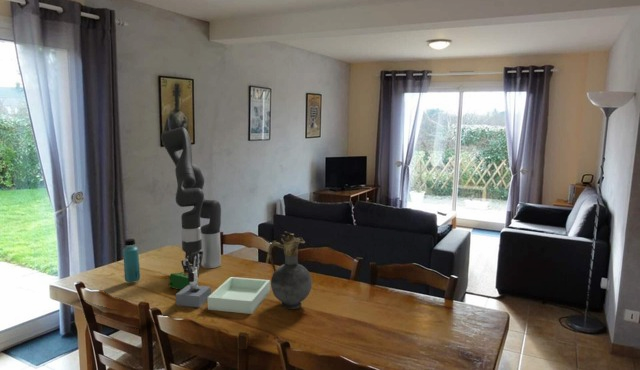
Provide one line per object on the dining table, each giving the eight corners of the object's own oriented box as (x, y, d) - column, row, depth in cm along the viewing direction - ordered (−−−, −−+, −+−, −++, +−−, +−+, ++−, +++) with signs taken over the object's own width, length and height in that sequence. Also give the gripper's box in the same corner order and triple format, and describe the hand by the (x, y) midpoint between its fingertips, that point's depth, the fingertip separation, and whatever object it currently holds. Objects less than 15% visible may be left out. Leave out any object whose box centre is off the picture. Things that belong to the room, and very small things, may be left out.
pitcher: (299, 315, 162) (299, 238, 157) (260, 303, 172) (259, 230, 167) (315, 305, 171) (316, 231, 166) (277, 294, 181) (277, 224, 176)
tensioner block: (188, 295, 180) (188, 284, 179) (211, 297, 178) (210, 286, 177) (176, 305, 170) (175, 294, 169) (199, 307, 168) (199, 296, 167)
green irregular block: (192, 297, 188) (201, 279, 187) (182, 298, 183) (191, 280, 182) (176, 281, 194) (185, 264, 193) (166, 282, 189) (174, 265, 188)
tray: (230, 287, 188) (230, 276, 187) (270, 291, 184) (270, 280, 183) (207, 309, 166) (207, 297, 166) (252, 313, 163) (251, 301, 162)
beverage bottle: (136, 285, 189) (134, 241, 186) (121, 285, 190) (119, 241, 186) (143, 280, 196) (140, 237, 193) (128, 280, 196) (126, 237, 193)
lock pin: (192, 293, 176) (191, 265, 174) (199, 294, 175) (198, 265, 173) (188, 296, 173) (187, 267, 171) (196, 297, 172) (194, 268, 170)
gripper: (191, 233, 178) (193, 272, 180) (173, 242, 164) (175, 285, 167) (208, 234, 176) (210, 274, 179) (191, 243, 162) (193, 287, 165)
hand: (193, 279), depth 173 cm, fingers closed on lock pin, 3 cm apart
